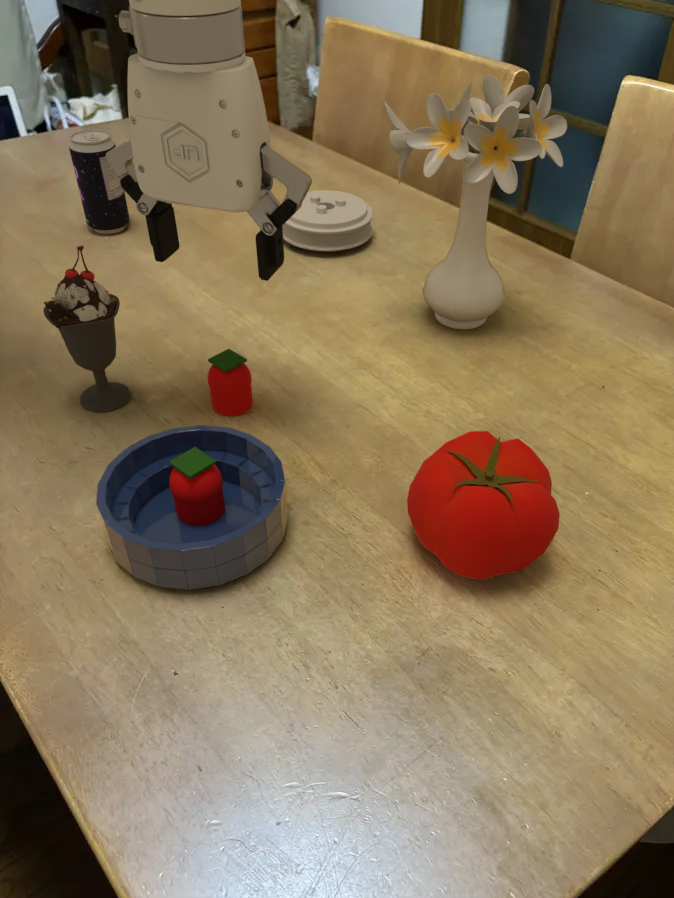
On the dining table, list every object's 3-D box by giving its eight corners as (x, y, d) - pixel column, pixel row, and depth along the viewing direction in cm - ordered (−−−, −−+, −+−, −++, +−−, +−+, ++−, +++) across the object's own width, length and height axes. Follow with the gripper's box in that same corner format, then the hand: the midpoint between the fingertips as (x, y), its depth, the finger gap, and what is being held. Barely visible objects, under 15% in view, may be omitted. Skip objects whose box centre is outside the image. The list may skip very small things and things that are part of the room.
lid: (391, 238, 103) (392, 202, 100) (325, 267, 97) (324, 229, 93) (327, 210, 110) (326, 175, 106) (260, 236, 103) (258, 199, 99)
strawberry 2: (202, 404, 75) (195, 359, 71) (234, 386, 77) (229, 342, 73) (230, 422, 73) (224, 376, 69) (262, 403, 75) (258, 358, 71)
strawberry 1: (164, 509, 63) (154, 461, 59) (204, 485, 65) (196, 437, 62) (196, 534, 61) (188, 486, 57) (236, 508, 63) (230, 460, 60)
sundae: (134, 373, 78) (103, 234, 68) (144, 409, 74) (113, 266, 63) (68, 384, 76) (26, 243, 66) (74, 423, 72) (30, 278, 62)
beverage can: (119, 215, 106) (101, 125, 98) (138, 229, 103) (121, 137, 95) (81, 225, 103) (59, 133, 95) (99, 240, 100) (78, 146, 92)
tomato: (426, 485, 67) (435, 403, 61) (560, 523, 64) (583, 440, 58) (383, 569, 60) (389, 485, 53) (532, 616, 57) (557, 533, 50)
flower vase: (368, 297, 91) (374, 67, 74) (512, 287, 94) (551, 64, 77) (390, 355, 82) (404, 108, 65) (549, 342, 85) (602, 102, 68)
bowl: (74, 529, 62) (59, 484, 58) (211, 448, 70) (205, 404, 66) (185, 626, 55) (175, 581, 52) (322, 524, 63) (322, 479, 60)
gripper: (51, 36, 52) (106, 267, 64) (283, 61, 48) (295, 301, 60) (110, 14, 57) (150, 231, 69) (323, 36, 54) (327, 261, 65)
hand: (218, 264), depth 65 cm, fingers open, 9 cm apart
